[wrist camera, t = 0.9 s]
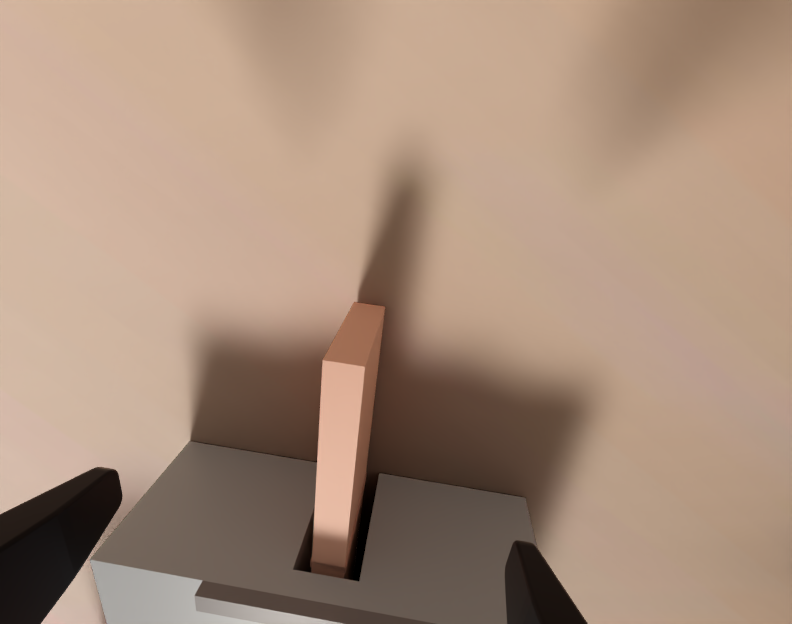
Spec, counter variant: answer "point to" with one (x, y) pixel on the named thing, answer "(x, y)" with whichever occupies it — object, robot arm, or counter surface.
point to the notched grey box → (302, 549)
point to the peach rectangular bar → (345, 439)
